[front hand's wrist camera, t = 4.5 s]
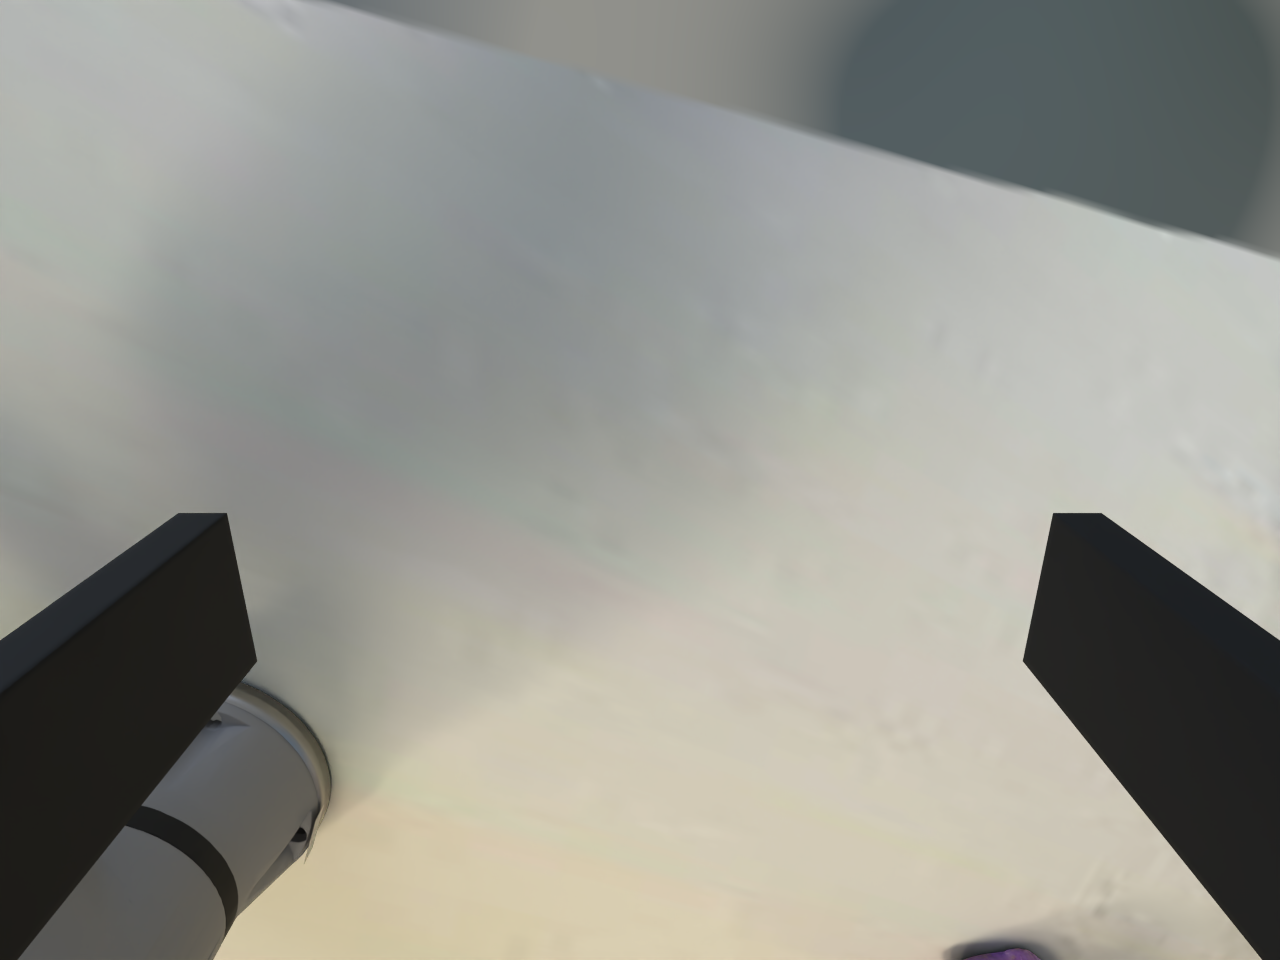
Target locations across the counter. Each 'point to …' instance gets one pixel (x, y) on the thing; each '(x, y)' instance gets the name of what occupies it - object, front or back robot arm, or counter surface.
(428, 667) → the counter surface
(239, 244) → the counter surface
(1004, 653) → the counter surface
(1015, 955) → the figurine
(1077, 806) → the counter surface
